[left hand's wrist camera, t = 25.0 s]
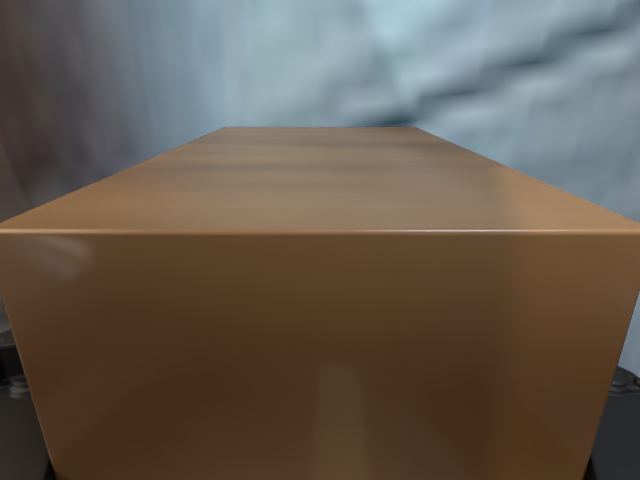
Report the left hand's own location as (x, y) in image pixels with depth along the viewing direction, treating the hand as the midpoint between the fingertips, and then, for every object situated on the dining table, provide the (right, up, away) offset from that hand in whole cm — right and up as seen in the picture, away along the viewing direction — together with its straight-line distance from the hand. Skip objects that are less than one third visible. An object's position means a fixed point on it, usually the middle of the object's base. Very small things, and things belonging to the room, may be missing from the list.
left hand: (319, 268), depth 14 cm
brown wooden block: (0, +1, +2) cm, 3 cm away
